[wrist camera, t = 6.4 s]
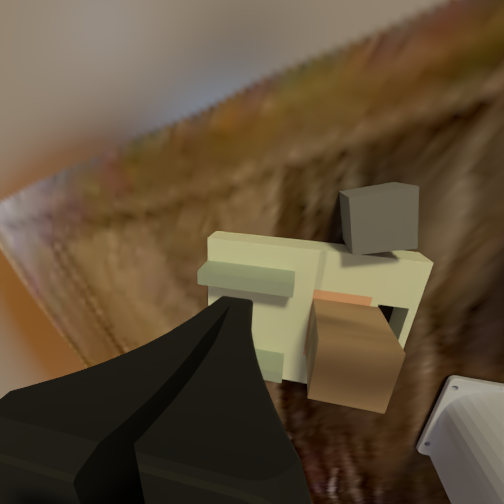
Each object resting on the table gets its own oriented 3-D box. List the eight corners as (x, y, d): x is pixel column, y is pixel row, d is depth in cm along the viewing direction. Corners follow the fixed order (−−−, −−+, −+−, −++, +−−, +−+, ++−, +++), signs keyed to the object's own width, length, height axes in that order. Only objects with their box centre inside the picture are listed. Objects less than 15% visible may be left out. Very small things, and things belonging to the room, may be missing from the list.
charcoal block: (394, 232, 17) (417, 248, 14) (342, 238, 18) (352, 255, 14) (394, 181, 16) (418, 186, 13) (338, 191, 17) (349, 197, 13)
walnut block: (364, 357, 18) (384, 413, 14) (305, 347, 19) (307, 398, 15) (378, 307, 17) (405, 354, 13) (313, 298, 17) (318, 340, 13)
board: (377, 378, 21) (394, 423, 17) (215, 348, 23) (200, 383, 20) (418, 252, 17) (452, 276, 13) (216, 230, 19) (196, 246, 15)
